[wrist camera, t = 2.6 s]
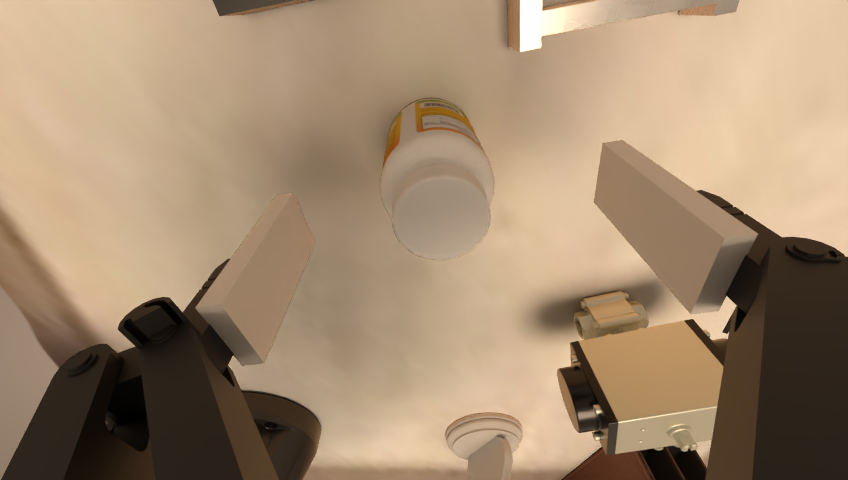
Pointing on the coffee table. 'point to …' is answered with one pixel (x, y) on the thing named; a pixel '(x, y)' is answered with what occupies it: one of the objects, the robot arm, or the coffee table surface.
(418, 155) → the supplement bottle
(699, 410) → the pneumatic valve
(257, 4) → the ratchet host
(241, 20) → the coffee table surface
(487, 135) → the coffee table surface
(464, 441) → the chess piece
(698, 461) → the letter holder
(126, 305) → the coffee table surface
